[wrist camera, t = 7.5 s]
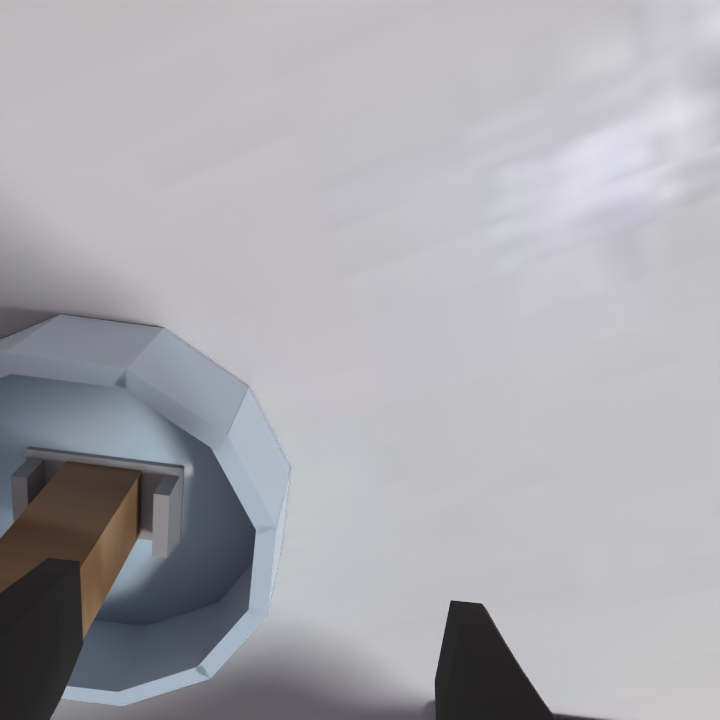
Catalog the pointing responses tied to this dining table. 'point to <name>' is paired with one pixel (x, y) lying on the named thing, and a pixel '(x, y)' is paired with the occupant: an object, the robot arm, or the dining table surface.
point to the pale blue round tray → (151, 493)
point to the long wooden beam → (78, 529)
